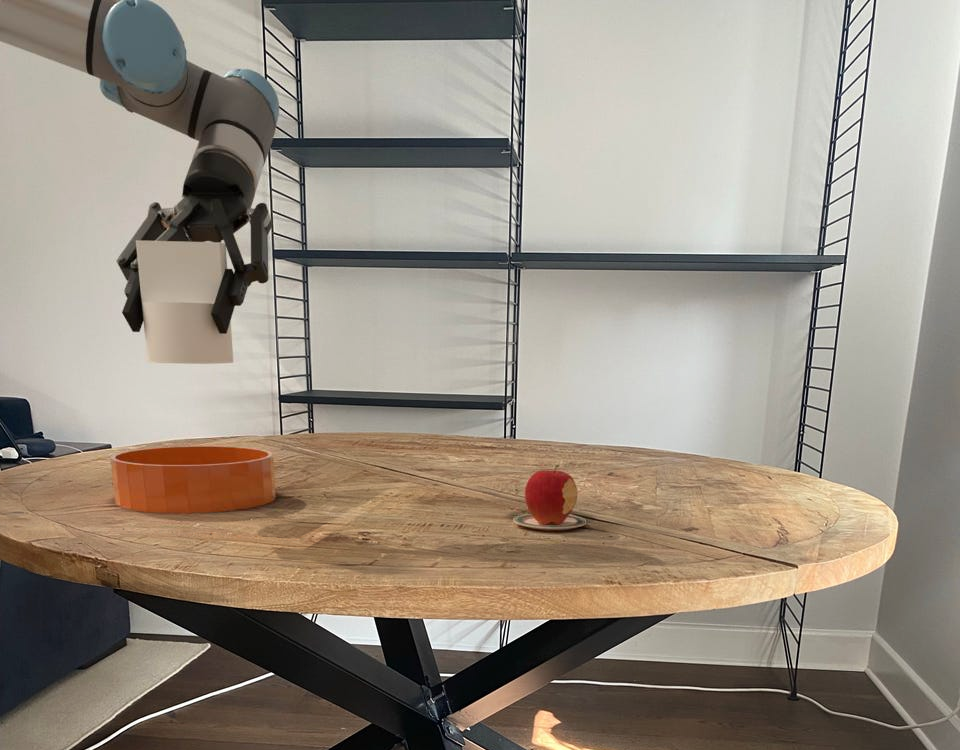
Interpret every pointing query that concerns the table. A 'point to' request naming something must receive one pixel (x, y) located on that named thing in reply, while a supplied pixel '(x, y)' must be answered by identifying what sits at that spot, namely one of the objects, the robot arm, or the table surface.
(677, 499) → the table surface
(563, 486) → the apple
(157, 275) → the cylinder with rectangular tab
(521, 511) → the table surface
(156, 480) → the orange shallow round tray
